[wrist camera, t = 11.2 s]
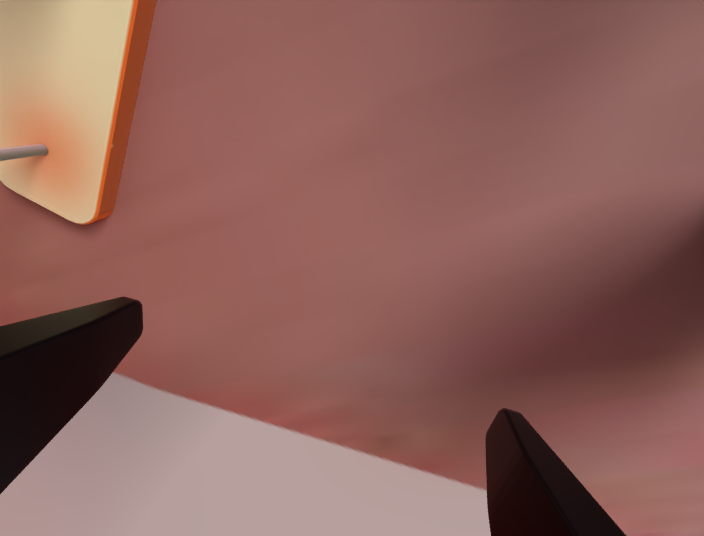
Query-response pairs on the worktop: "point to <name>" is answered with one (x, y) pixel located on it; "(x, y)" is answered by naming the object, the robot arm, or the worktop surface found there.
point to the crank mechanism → (69, 99)
